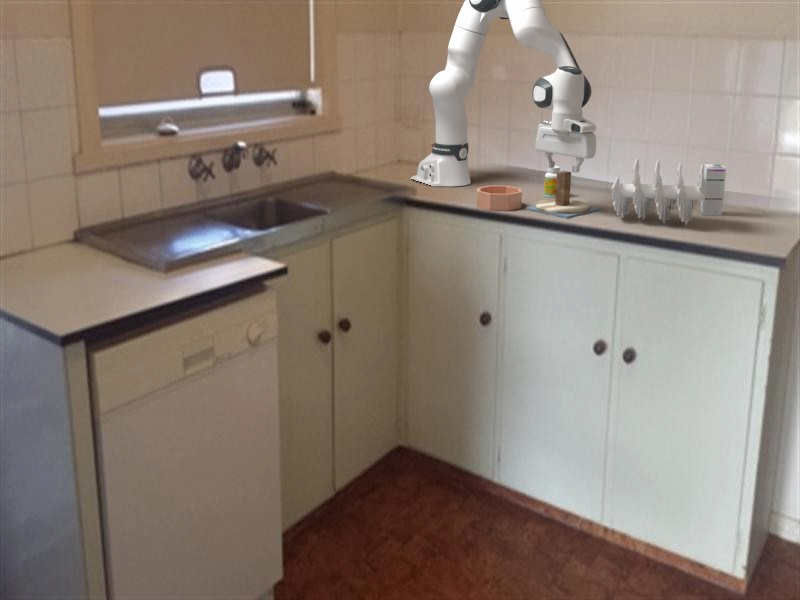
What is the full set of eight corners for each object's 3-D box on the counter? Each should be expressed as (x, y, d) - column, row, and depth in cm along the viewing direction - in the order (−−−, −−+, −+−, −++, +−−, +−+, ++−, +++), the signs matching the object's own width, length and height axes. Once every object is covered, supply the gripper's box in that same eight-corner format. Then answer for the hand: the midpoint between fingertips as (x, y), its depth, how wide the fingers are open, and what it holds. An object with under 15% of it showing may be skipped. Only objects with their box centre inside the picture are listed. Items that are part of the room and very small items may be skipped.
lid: (524, 207, 266) (526, 171, 262) (557, 200, 276) (559, 165, 273) (566, 216, 255) (569, 179, 251) (599, 208, 265) (601, 172, 261)
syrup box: (722, 216, 257) (727, 167, 253) (701, 215, 259) (706, 166, 254) (719, 211, 263) (724, 164, 258) (698, 211, 264) (704, 163, 259)
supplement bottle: (541, 196, 284) (543, 167, 281) (546, 193, 288) (548, 164, 285) (557, 198, 282) (559, 168, 278) (562, 195, 286) (564, 166, 283)
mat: (525, 209, 266) (525, 207, 266) (557, 202, 276) (557, 200, 276) (567, 218, 255) (567, 216, 255) (599, 210, 265) (599, 208, 265)
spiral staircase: (617, 226, 262) (703, 231, 251) (605, 212, 246) (697, 216, 235) (624, 168, 264) (711, 170, 253) (613, 150, 248) (704, 151, 237)
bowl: (467, 205, 272) (468, 189, 270) (496, 199, 280) (497, 183, 279) (500, 212, 262) (501, 196, 260) (529, 206, 271) (530, 190, 269)
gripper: (532, 120, 262) (529, 166, 267) (587, 128, 248) (583, 176, 252) (545, 118, 266) (542, 163, 271) (601, 126, 252) (596, 173, 256)
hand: (563, 169), depth 262 cm, fingers open, 8 cm apart
